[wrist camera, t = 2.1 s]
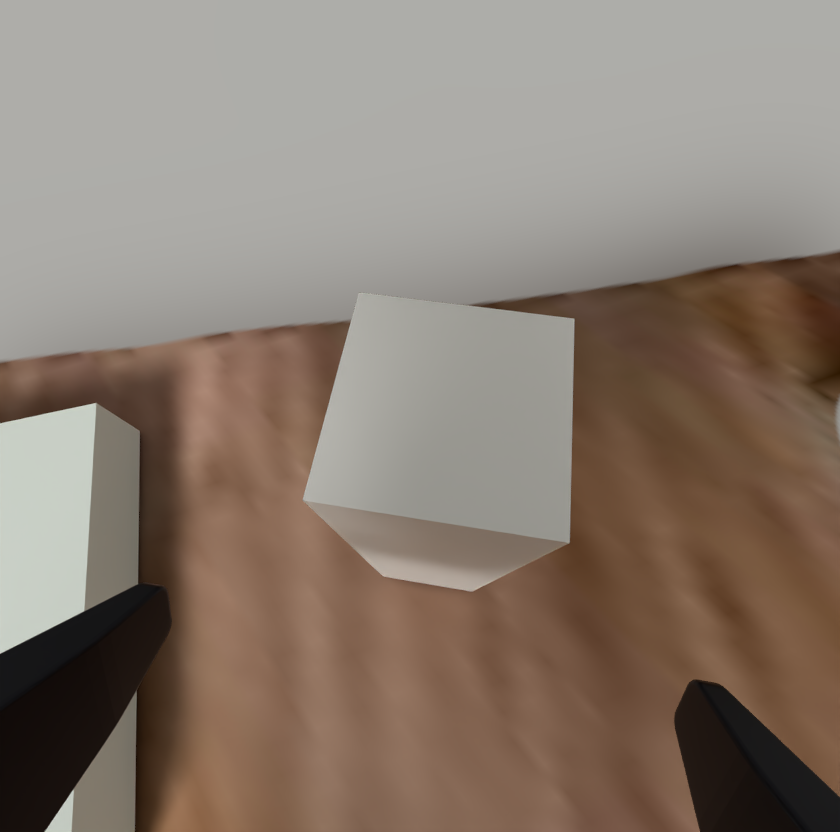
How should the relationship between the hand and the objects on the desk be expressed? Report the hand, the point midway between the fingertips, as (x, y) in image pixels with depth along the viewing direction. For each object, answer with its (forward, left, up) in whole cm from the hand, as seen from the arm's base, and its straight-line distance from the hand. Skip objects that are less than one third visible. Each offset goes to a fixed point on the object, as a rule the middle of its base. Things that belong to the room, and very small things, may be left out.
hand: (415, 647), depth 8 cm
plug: (+3, -1, -10) cm, 11 cm away
